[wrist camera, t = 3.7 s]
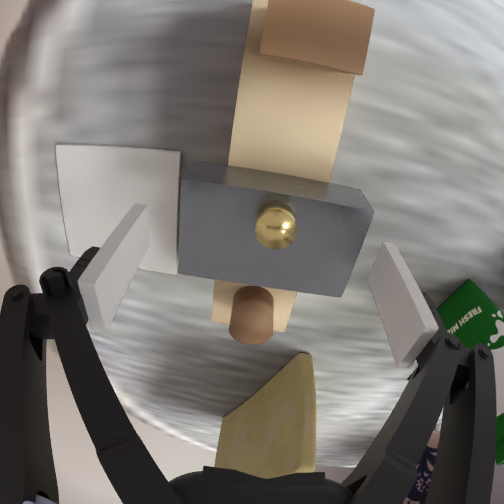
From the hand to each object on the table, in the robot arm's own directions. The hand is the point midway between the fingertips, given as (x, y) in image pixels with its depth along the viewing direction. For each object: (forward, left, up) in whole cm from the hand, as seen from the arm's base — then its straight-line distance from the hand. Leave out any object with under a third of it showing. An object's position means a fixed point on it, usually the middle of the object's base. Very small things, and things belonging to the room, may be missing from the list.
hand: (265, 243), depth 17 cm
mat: (+11, -8, -9) cm, 16 cm away
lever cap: (0, 0, -3) cm, 3 cm away
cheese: (+21, +23, -9) cm, 33 cm away
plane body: (-2, -1, -9) cm, 9 cm away
